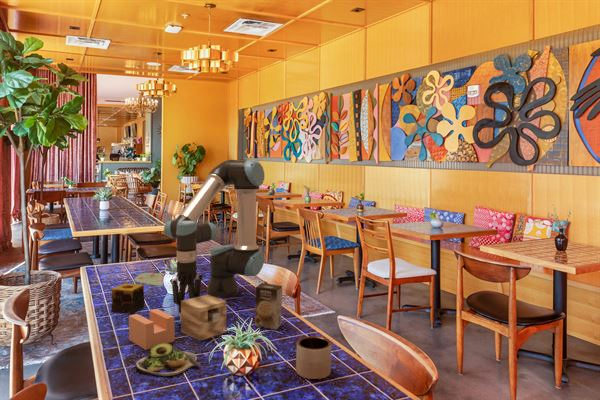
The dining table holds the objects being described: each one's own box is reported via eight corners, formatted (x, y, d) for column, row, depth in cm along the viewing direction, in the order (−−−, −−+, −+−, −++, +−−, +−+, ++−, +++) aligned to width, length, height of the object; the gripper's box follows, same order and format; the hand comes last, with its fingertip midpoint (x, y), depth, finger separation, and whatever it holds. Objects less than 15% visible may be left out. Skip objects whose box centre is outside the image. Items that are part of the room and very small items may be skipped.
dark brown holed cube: (132, 314, 193) (132, 290, 192) (110, 312, 195) (110, 289, 194) (145, 306, 203) (145, 284, 202) (124, 304, 205) (124, 282, 204)
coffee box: (254, 326, 181) (254, 286, 179) (260, 321, 187) (261, 282, 185) (276, 330, 178) (276, 289, 176) (282, 324, 184) (282, 285, 182)
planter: (308, 361, 151) (309, 333, 150) (337, 370, 145) (338, 341, 144) (288, 374, 142) (289, 343, 141) (318, 384, 136) (319, 352, 135)
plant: (185, 281, 246) (185, 264, 246) (150, 288, 232) (149, 271, 231) (161, 272, 264) (161, 257, 263) (126, 279, 249) (126, 262, 248)
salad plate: (213, 359, 152) (213, 346, 151) (179, 384, 135) (179, 368, 135) (165, 349, 159) (165, 336, 158) (127, 371, 142) (127, 356, 142)
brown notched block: (207, 324, 183) (207, 294, 182) (226, 332, 175) (226, 301, 174) (181, 331, 174) (181, 300, 173) (199, 340, 166) (199, 308, 165)
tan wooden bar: (186, 307, 185) (186, 299, 184) (220, 320, 170) (219, 312, 169) (179, 308, 182) (179, 301, 182) (213, 322, 167) (213, 314, 167)
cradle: (157, 332, 173) (157, 308, 173) (174, 341, 165) (174, 316, 164) (129, 340, 166) (128, 315, 165) (146, 350, 157) (145, 324, 157)
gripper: (173, 265, 171) (174, 327, 174) (209, 259, 183) (209, 316, 185) (163, 262, 177) (163, 322, 179) (198, 256, 188) (198, 312, 190)
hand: (187, 319), depth 182 cm, fingers closed on tan wooden bar, 3 cm apart
